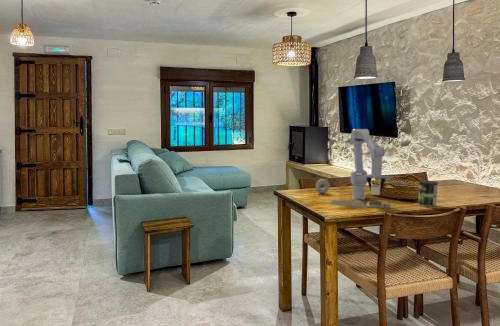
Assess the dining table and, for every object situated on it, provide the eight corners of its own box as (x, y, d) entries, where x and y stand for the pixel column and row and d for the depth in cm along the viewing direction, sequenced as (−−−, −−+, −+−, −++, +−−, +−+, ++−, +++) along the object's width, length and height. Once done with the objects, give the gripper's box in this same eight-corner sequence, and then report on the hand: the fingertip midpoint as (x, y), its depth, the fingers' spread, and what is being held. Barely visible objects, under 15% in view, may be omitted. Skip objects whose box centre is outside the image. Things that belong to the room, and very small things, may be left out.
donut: (316, 194, 281) (317, 179, 280) (314, 193, 285) (314, 178, 283) (330, 193, 284) (330, 179, 283) (327, 192, 287) (328, 178, 286)
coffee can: (425, 207, 246) (426, 183, 245) (414, 203, 256) (415, 180, 254) (440, 206, 249) (441, 182, 247) (428, 202, 259) (430, 180, 257)
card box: (379, 195, 242) (379, 187, 242) (370, 194, 244) (370, 186, 243) (380, 192, 251) (380, 184, 250) (371, 191, 252) (372, 184, 252)
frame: (367, 202, 256) (367, 200, 256) (383, 203, 253) (383, 201, 253) (367, 206, 243) (367, 205, 243) (383, 208, 241) (383, 206, 241)
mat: (332, 200, 262) (332, 199, 262) (390, 204, 252) (390, 204, 252) (330, 205, 249) (330, 204, 249) (390, 209, 240) (390, 208, 240)
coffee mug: (407, 199, 269) (408, 183, 268) (393, 199, 267) (394, 184, 266) (395, 195, 282) (396, 180, 281) (381, 195, 280) (382, 180, 279)
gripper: (363, 168, 244) (362, 191, 246) (389, 169, 240) (388, 193, 241) (364, 166, 251) (363, 189, 252) (389, 167, 246) (388, 190, 248)
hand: (375, 191), depth 247 cm, fingers closed on card box, 5 cm apart
